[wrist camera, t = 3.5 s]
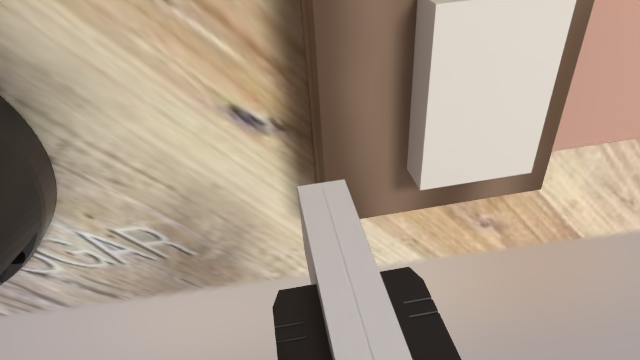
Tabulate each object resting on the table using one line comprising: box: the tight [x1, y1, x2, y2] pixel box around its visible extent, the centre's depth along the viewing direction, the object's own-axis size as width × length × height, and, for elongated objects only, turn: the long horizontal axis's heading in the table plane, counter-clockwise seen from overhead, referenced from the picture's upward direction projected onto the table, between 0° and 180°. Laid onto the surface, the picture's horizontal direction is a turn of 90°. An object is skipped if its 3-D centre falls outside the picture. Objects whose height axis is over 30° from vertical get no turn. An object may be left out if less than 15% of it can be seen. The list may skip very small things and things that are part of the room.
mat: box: [552, 0, 640, 151], centre depth 26 cm, size 12×15×1 cm
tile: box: [407, 0, 576, 190], centre depth 21 cm, size 6×9×2 cm, turn 3°
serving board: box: [301, 0, 595, 219], centre depth 23 cm, size 13×15×4 cm
